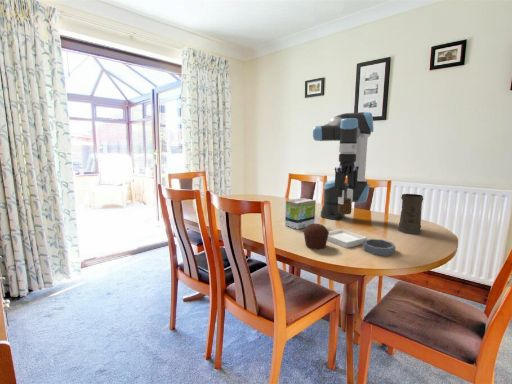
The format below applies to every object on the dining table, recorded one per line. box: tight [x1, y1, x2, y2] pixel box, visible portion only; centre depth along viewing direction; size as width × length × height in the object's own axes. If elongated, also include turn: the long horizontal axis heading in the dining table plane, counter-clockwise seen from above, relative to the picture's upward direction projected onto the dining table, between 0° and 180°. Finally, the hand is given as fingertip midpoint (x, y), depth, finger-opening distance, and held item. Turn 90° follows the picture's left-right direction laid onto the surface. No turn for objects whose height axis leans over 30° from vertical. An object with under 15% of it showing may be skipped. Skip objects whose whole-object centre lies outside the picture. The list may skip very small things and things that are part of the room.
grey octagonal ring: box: [362, 238, 396, 257], centre depth 120 cm, size 12×12×3 cm
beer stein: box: [397, 193, 424, 235], centre depth 148 cm, size 15×11×20 cm
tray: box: [327, 228, 368, 249], centre depth 133 cm, size 16×14×2 cm
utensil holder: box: [338, 191, 353, 215], centre depth 130 cm, size 6×6×12 cm
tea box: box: [284, 197, 317, 230], centre depth 157 cm, size 15×10×15 cm, turn 131°
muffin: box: [302, 223, 329, 250], centre depth 124 cm, size 12×11×10 cm
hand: (345, 203), depth 130 cm, fingers closed on utensil holder, 5 cm apart
